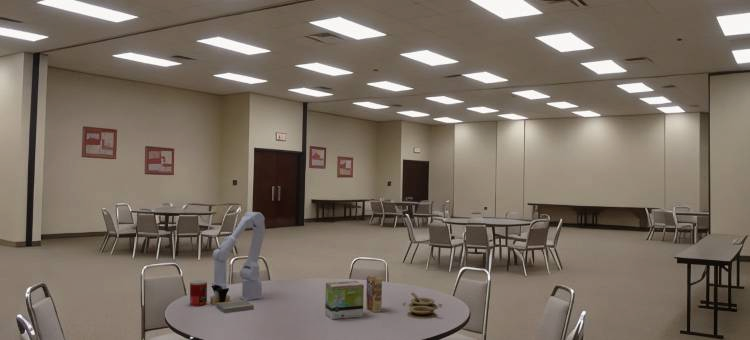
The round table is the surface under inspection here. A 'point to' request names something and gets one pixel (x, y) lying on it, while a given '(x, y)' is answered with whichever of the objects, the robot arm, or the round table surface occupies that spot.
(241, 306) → the dock
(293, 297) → the round table surface
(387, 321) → the round table surface
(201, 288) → the canned food
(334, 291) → the tea box
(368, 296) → the candy box
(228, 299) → the pallet
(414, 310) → the tableware set
